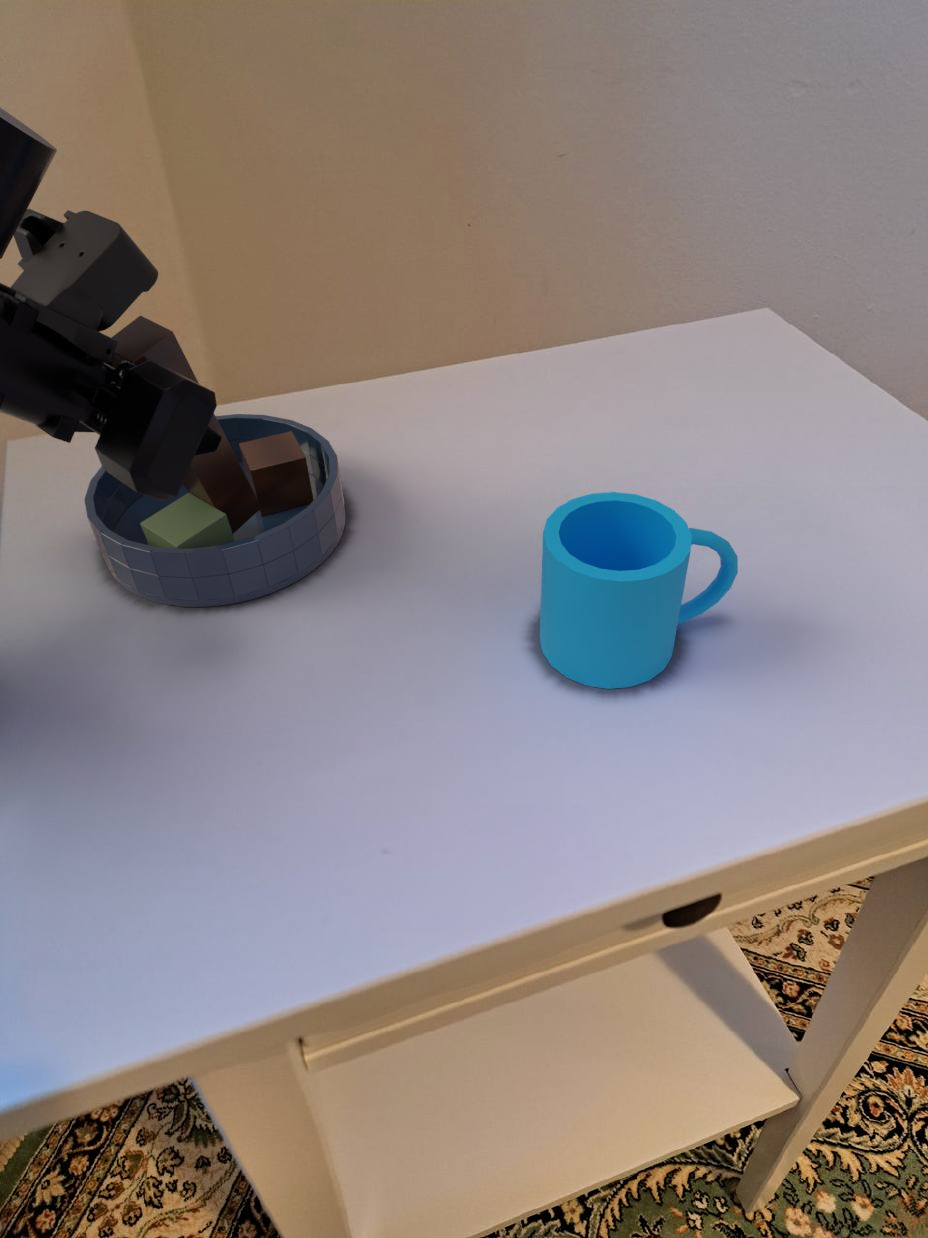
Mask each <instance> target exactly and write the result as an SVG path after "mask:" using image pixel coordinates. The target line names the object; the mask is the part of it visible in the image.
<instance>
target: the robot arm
mask: <svg viewBox="0 0 928 1238" xmlns="http://www.w3.org/2000/svg"><path fill="white" fill-rule="evenodd" d="M57 151H58V149H57V148H56V147H55V146H54V145H52V144H51V143H50V142H49V141H48V140H47V139H45V138H44V137H43V136H41V135H39V133H37V132H36V131H35V130H34V129H32V128H30V127H29V126H28V125H26V124H25V123H24V122H22V121H20V120H19V119H18V118H16V117H15V116H14V115H12V114H10V113H9V112H8V111H6V110H5V109H3V108H2V107H0V260H2V259H3V257H4V255H5V253H6V251H7V249H8V247H9V245H10V243H11V241H12V239H13V238H14V241H15V243H16V246H17V249H18V252H19V256H20V257H21V260H19V262H17V265H18V266H19V267H20V268H21V269H22V271H21V273H20V274H19V276H18V277H17V278H16V280H14V282H13V284H11V286H8V285H6V284H4V283H2V282H0V414H4V415H6V416H10V417H13V418H16V419H19V420H21V421H24V422H27V423H29V424H32V425H35V426H36V427H37V428H38V429H40V430H42V431H43V432H44V433H46V434H47V435H49V437H52V438H53V439H57V440H60V441H63V442H66V443H68V444H71V441H72V440H73V437H74V435H75V433H96V434H97V435H98V439H97V442H96V444H95V446H94V450H95V452H96V455H97V457H98V460H99V462H100V463H99V464H100V465H101V466H102V468H103V469H104V470H105V471H107V472H108V473H110V474H111V475H112V476H114V477H115V478H117V479H118V480H120V481H121V482H123V483H124V484H125V485H127V486H128V487H130V488H131V489H133V490H134V491H136V492H137V493H140V494H143V495H146V496H150V497H153V498H156V499H160V500H163V501H166V502H167V501H169V500H171V499H172V498H174V497H176V496H177V495H178V492H179V490H180V488H181V486H182V483H183V481H184V479H185V477H186V474H187V472H188V470H189V468H190V465H191V463H192V461H193V459H194V456H195V455H200V454H206V453H211V452H215V451H216V450H217V448H218V446H219V443H220V441H221V438H222V437H221V435H220V434H219V433H217V432H216V431H215V430H213V429H212V428H211V427H209V426H208V425H209V422H210V420H211V418H212V416H213V413H214V414H215V411H216V409H217V407H218V404H217V399H216V398H217V397H216V392H215V391H213V390H211V389H209V388H207V387H206V386H204V385H202V384H200V383H199V382H198V383H199V384H198V383H196V382H194V381H193V380H191V379H189V378H187V377H185V376H183V375H181V374H179V373H177V372H175V371H173V370H171V369H169V368H167V367H165V366H162V365H160V364H158V363H156V362H155V361H153V360H148V361H146V362H144V363H142V364H139V365H137V366H136V365H134V364H133V363H130V362H128V361H122V362H121V363H119V365H118V366H117V367H116V368H114V367H113V365H112V364H111V362H110V361H111V358H112V356H113V353H114V351H115V349H116V346H117V344H118V341H116V340H114V339H113V338H111V337H112V336H109V335H107V334H104V333H102V332H103V331H105V330H108V329H109V328H111V327H112V326H113V325H114V324H115V323H116V322H117V321H118V320H119V319H120V318H121V317H122V315H124V314H125V313H126V311H127V310H128V309H129V308H130V307H131V306H132V304H133V303H135V302H136V300H137V299H138V298H139V297H140V296H141V295H142V294H143V293H148V292H149V291H150V290H151V289H152V288H153V287H154V286H155V284H156V282H157V281H158V278H159V271H158V269H157V268H156V267H155V265H154V264H153V263H152V261H151V260H150V259H149V258H148V257H147V255H146V254H145V253H144V252H143V251H142V249H141V248H140V247H139V246H138V245H137V244H136V242H135V241H134V240H133V238H131V236H130V235H129V234H128V233H127V231H125V229H124V228H123V227H122V225H121V224H120V223H119V222H117V221H114V220H112V219H109V218H107V217H105V216H102V215H100V214H97V213H95V212H92V211H90V210H80V211H78V212H73V211H71V210H67V211H65V213H64V214H63V217H64V218H65V219H66V221H65V222H62V221H60V220H57V219H55V218H52V217H50V216H48V215H45V214H43V213H41V212H38V211H35V210H34V209H31V208H29V206H30V204H31V202H32V200H33V198H34V196H35V194H36V192H37V191H38V188H39V187H40V184H41V183H42V181H43V179H44V177H45V175H46V173H47V171H48V169H49V167H50V165H51V163H52V161H53V159H54V157H55V155H56V154H57Z"/></svg>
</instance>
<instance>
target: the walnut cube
mask: <svg viewBox="0 0 928 1238" xmlns="http://www.w3.org/2000/svg"><path fill="white" fill-rule="evenodd" d="M239 447H240V451H241V456H242V460H243V464H244V468H245V472H246V477H247V480H248V482H249V484H250V486H251V488H252V490H253V492H254V494H255V496H256V498H257V500H258V502H259V504H260V506H261V509H260V510H259V512H260V515H261V516H265V515H269V514H273V513H277V512H281V511H285V510H289V509H293V508H296V507H300V506H304V505H308V504H311V503H312V501H313V494H312V488H311V483H310V477H309V472H308V466H307V461H306V457H305V455H304V453H303V451H302V449H301V447H300V445H299V444H298V442H297V440H296V438H295V436H294V434H293V432H292V431H290V432H286V433H281V434H277V435H273V436H269V437H264V438H260V439H256V440H252V441H247V442H243V443H239Z"/></svg>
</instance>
